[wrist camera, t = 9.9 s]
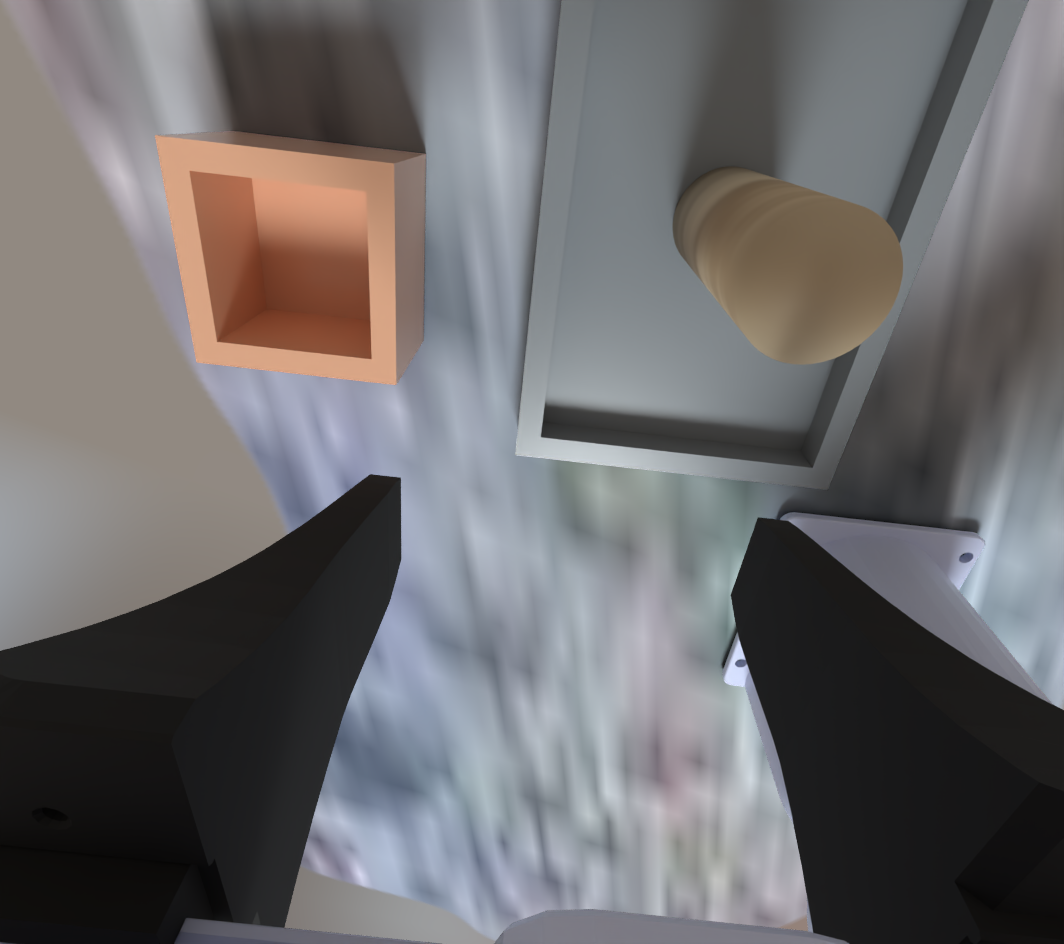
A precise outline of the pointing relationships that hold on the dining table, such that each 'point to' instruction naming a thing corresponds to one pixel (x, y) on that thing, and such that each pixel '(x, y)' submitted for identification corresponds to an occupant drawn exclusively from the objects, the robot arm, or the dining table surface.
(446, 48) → the dining table surface
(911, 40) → the tray
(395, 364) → the open box
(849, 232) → the dowel
